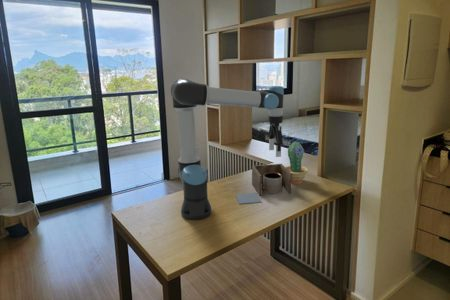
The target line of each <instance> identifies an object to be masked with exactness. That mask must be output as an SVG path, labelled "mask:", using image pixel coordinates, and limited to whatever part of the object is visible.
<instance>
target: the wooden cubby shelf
mask: <svg viewBox="0 0 450 300" xmlns="http://www.w3.org/2000/svg"><path fill="white" fill-rule="evenodd" d="M269 172H274V173H279V174H281V175H282V188H284V190H285V191H286V192H287V193H288V194H289V195H291V194H292V173H291V172H290V171H289V170H288V169H287V168H285V165H283V164H282V163H275V164H274V163H273V164H256V165H251V185H252V187H253V188H254V190H255V193H257V195H258V197H262V192H263V175H264V174H265V173H269Z"/></svg>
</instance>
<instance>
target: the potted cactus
mask: <svg viewBox="0 0 450 300" xmlns="http://www.w3.org/2000/svg"><path fill="white" fill-rule="evenodd" d="M304 152H305V149H304V148H303V146H302V145H301V143H300V142H298V141H297V142H295V141H294V142H292V143H291V144H290V145H289V146H288V148H287V156H288V159H289V165H286V166H285V165H284V167H285V168H287V169H288V170H289V171H290V172H291V173H292V184H293V185H300V184H302V183H303V180H304V179H305V177H306V175H307V174H308V172H309V169H308V168H307V167H305V166H304V165H303V166H302V160H303V157H304Z"/></svg>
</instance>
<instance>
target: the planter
mask: <svg viewBox="0 0 450 300" xmlns="http://www.w3.org/2000/svg"><path fill="white" fill-rule="evenodd" d="M282 191H283V186H282V175H281V174H279V173H274V172H269V173H265V174H264V175H263V184H262V192H264V193H266V194H267V195H277V194H278V195H279V194H280V193H282Z"/></svg>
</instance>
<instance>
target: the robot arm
mask: <svg viewBox="0 0 450 300" xmlns="http://www.w3.org/2000/svg"><path fill="white" fill-rule="evenodd" d="M284 92H285V90H284V87H283V86H281V85H272V86H269V88H268V90H252V91H251V90H243V89H235V88H234V89H232V88H224V87H223V88H222V87H213V86H212V87H211V86H208V85H207V83H206V84H204V83H199V82H195V81H192V80H189V79H187V78H179V79H177V80H175V81H174V82H173V83H172V85H171V87H170V95H171V98H172V99H171V100H172V106H173V107H172V108H173V109H174V110H175V111H176V117H177V120H176V121H177V129H178V141H179V151H180V157H179V158H178V159H177V162H178V163H177V164H178V168H177V173H178V177H179V178H180V180H181V183H182V187H183V189H182V190H183V201H182V206H181V208H180V215H181V217H182V218H183V219H186V220H191V221H192V220H193V221H195V220H196V221H197V220H199V221H200V220H204V219H206V218H208V217H210V216H211V214H212V210H213V209H212V205H211V203H210V201H209V198H208V172H207V169H206V168H205V167H204V166H203V165H202V161H201V157H200V155H198V148H197V132H196V121H195V120H196V119H195V117H196V116H195V109H196V108H197V106H203V107H204V106H206V105H207V104H208V105H219V106H232V107H233V106H234V107H245V108H258V109H266V110H268V123H269V128H268V134H267V137H268V140H269V141H268V151H274V150H275V157H276V158H279V157H282V146H283V144H284V142H283V132H282V125H280V124H282V123H283V121H284V118H283V115H284V114H283V112H284V110H285V109H284V95H285V93H284ZM275 142H276V143H275Z"/></svg>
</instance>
